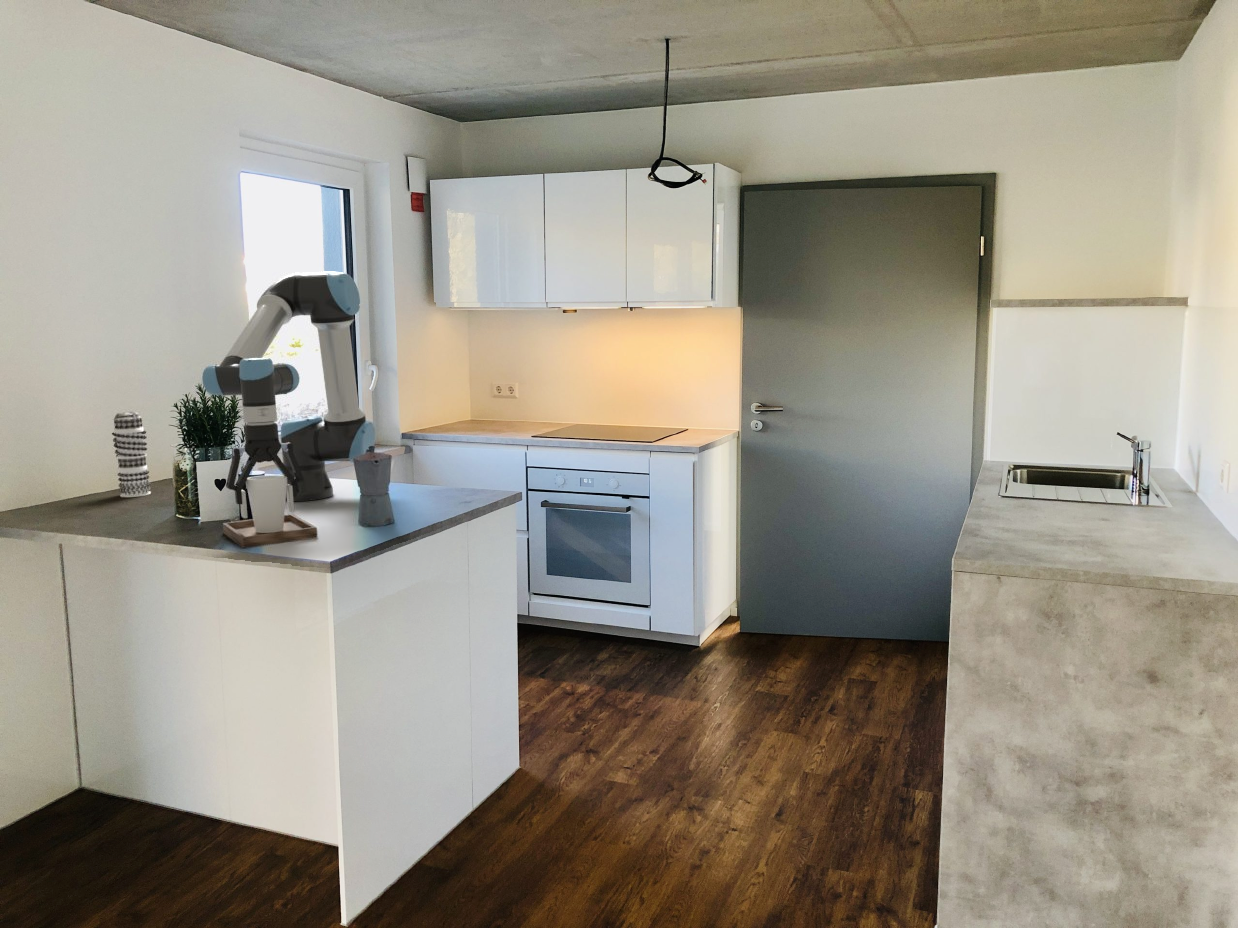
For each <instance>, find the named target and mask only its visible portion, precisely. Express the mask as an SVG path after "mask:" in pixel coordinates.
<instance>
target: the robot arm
mask: <svg viewBox="0 0 1238 928" xmlns="http://www.w3.org/2000/svg"><path fill="white" fill-rule="evenodd" d="M360 303H361V298H360V292H359V288H358V287H357V283H356V282H355V280H354V279H353V277H352V276H350V274H348V273H346V272H339V271H323V272H322V271H321V272H320V271H319V272H295V273H291V274H288V275H285V276H283V277H282V278H280V279H278V280H276V281H275V282H274V283H273V284H271V285H270V286H268V288H267V289H266V290H264V292H263V293H262V295H261V296H260V297H259V298H258V300H257V303H256V309H255V312H254V313H253V315H252V316H251V318H250V320H249V321H248V322H247V324H246V325H245V327H244V328H243V330H242V331H241V333H240V335H239V336H238V337H237V338H236V340H235V342H234V343H233V344H232V346H231V348H230V350H229V351H228V353H226V355H225V357H224V358H223V360H222V361H221V363H220V364H211V365H208V366H206V367H205V368H204V370H203V371H202V378H201V379H202V381H201V382H202V385H203V387H204V390H205V391H206V392H207V394H209V395H212V396H223V397H226V396H241V402H242V417H243V423H245V425H244V428H243V429H244V441H245V442H244V445H243V446H242V447H236V446H234V447H231V455H232V458H231V462H230V467H229V470H228V476H227V479H226V484H225V487H226V489H228V490H232V491H234V496H235V497H234V499H235V503H236V504H237V505H239V506H240V514H241V516H240V517H242V518H243V519H248V510H247V509H248V507H247V497H246V496H247V495H246V491H245V490H244V489H243V488H244V486H245V485H246V480H247V478H248V477H250V475H251V472H252V470H253V468H254V467H255V466H256V464H257V463H258V464H259V463H263V462H267V463H269V462H273V463H274V464H275V466H276V467H277V468H278V470H279V471H280V472H281V475H284V476H286V477H287V480H288V486H287V491H286V503H287V504H286V505H287V511H288V512H291V513H294V512H295V506H294V505H295V504H294V502H304V501H305V502H306V501H315V500H322V499H327V498H331V497H332V496H333V495H334V488H333V484H332V483H331V480H330V478H329V476H328V473H327V470H326V462H350V463H354V462H353V458H355V457H356V456H358V455H362V454H366V450H367V449H368V450H369V448H368V447H370V446H374V447H375V440H376V428H375V426H374V423H373V422H372V421H370V420H366V419H367V418H366V413H365V412H364V411H362V409H360V405H359V398H358V389H357V382H356V381H357V379H356V371H355V364H354V353H353V348H352V347H353V346H352V339H351V337H352V336H351V330H350V328H351V327H350V326H351V324H352V323H353V322H355V317H354V316H355V315H356V314H358V312H359V311H360V307H361V306H360ZM297 316H309V317H310V322H311V324H312V325H313V326H314V327H316V328H317V335H318V340H319V341H318V342H319V349H320V356H321V357H320V358H321V365H322V373H323V381H324V389H325V395H326V396H325V397H326V404H327V413H326V414H325V415H324V416H323V418H322V416H321V415H320V416H317V415H316V416H310V417H304V418H303V417H302V418H298V419H292V420H288V421H285V422H283V423H281V425H280V438H279V426H278V424H277V423H276V422H277V420H278V415H277V414H278V413H277V403H276V402H277V401H276V396H277V395H278V396H279V395H287V394H289V393H291V392H293V391H295V390H296V389H297V388H298V386H299V384H300V374H299V372H298V370H297V369H296V368H295V367H294V366H293V365H292V364H289V363H284V362H282V363H281V362H280V363H279V362H278V363H273V362H274V361H272V359H271V358H269V357H263V356H265V354H266V352H267V350H268V349H269V348H270V346H271V344H272V343H273V341H274V339H275V337H277V335H278V332H280V330H281V328H282V326H284V325H286V324H288V323H290V321H291V320H292V319H293V318H294V317H297ZM280 451H281V457H282V459H281V458H280V457H279V455H278V454H279V452H280ZM244 453H246V455H248V458H247V460H246V462H245V465H244V467H243V469H242V471H241V473H240V475H239V476H238V470H239V466H240V463H241V457H243V455H244ZM237 476H238V478H237ZM236 479H237V480H236Z"/></svg>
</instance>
